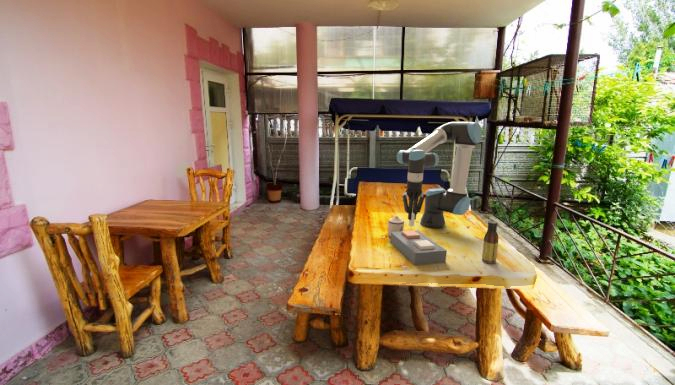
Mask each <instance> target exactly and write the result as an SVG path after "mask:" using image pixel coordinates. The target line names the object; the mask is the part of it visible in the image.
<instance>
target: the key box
mask: <svg viewBox="0 0 675 385" xmlns="http://www.w3.org/2000/svg"><path fill="white" fill-rule="evenodd" d="M414 231H415V232H417V233H418V234H420V238H412V239H407V238H405V237H404V236H403V235H402V231H400V232H391V237H390V244H391V245H392V246H393V247H394V248H396V250H397V251H399V252H400V253H401V254H402V255H403V256H404V257H405V258H406V259H407V260H408V261H409V262H410V263H411V264H412V265H413V266H422V265H431V264H432V265H433V264H444V263H446V261H447V249H445V248H444V247H442V246H441V245H440V244H438V243H437V242H436V241H434V240H432V239H431V238H430V237H428V236H427V235H425V233H423V232H422V231H420V230H417V229H416V230H414ZM420 240H428V241H429V242H430V243H432V244H433V245H434V249H423V250H420V249H419V248H418V247H416V246H415V245H414V241H420Z"/></svg>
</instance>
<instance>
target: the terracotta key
mask: <svg viewBox="0 0 675 385" xmlns="http://www.w3.org/2000/svg"><path fill="white" fill-rule="evenodd" d="M402 235H403V236H404V237H405V238H407V239H412V238H420V234H418V233H417V232H415V230H413V229H412V230H403V231H402Z"/></svg>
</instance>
